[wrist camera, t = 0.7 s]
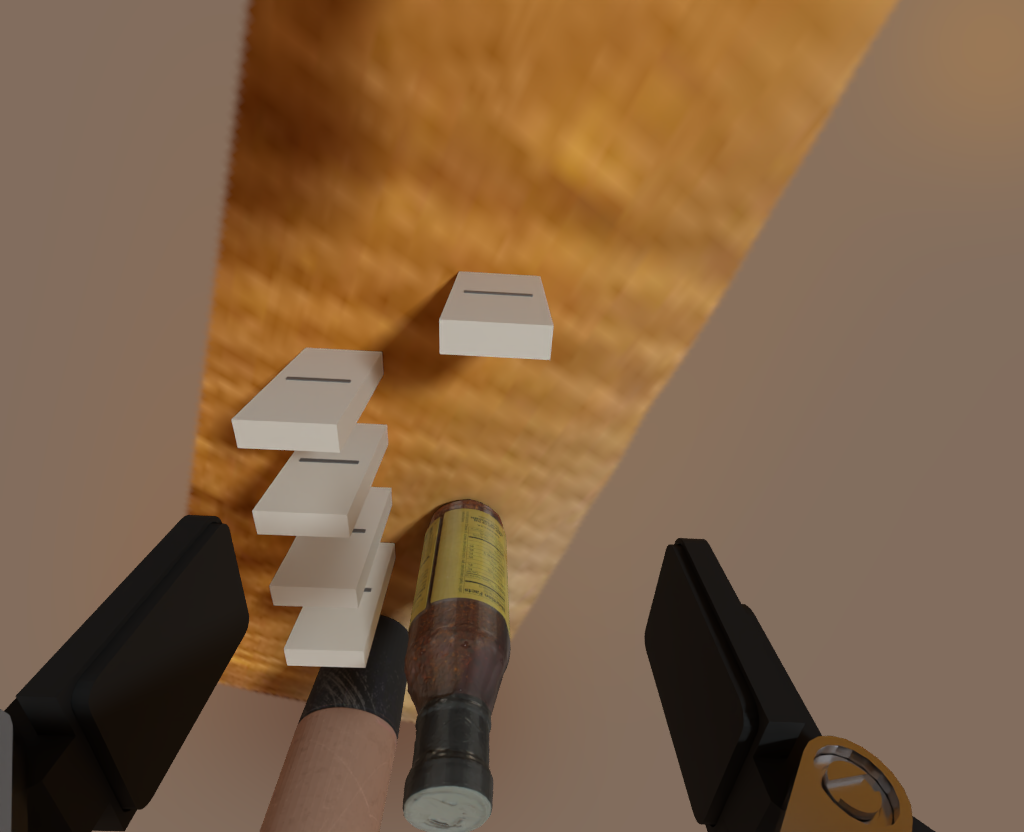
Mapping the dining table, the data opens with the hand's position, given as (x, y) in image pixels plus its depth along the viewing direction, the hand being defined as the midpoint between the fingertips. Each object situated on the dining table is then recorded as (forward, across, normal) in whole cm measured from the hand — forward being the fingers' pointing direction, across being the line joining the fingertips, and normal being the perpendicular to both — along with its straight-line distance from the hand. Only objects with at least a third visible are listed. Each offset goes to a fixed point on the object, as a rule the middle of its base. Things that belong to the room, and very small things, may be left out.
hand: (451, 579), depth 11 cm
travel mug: (+24, +9, +32) cm, 41 cm away
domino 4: (+24, +9, +20) cm, 33 cm away
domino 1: (+24, +9, +4) cm, 26 cm away
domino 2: (+24, +9, +10) cm, 27 cm away
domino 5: (+23, -1, -2) cm, 23 cm away
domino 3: (+24, +9, +15) cm, 30 cm away
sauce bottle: (+24, +1, +18) cm, 30 cm away
